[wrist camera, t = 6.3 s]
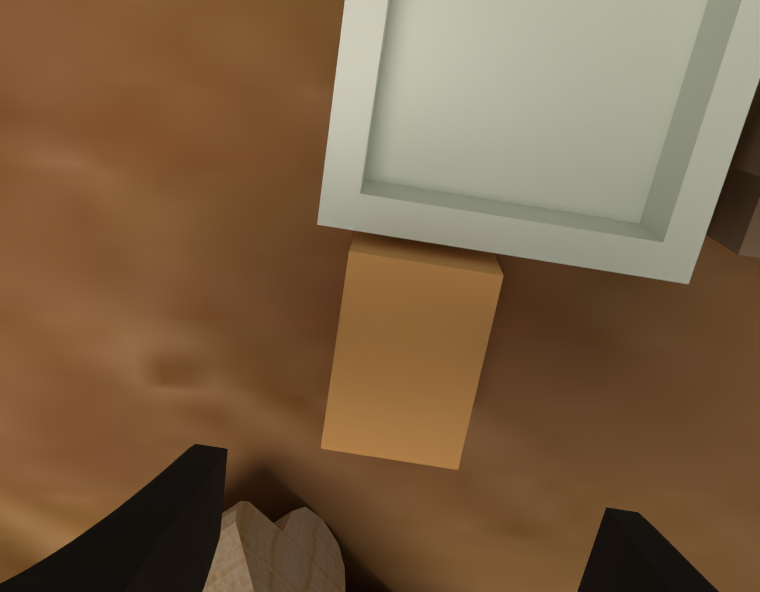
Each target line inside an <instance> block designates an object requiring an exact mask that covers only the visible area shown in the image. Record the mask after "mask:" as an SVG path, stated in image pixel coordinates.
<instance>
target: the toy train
mask: <svg viewBox="0 0 760 592" xmlns="http://www.w3.org/2000/svg"><path fill="white" fill-rule="evenodd" d="M202 592H345V568H344V564H343V560H342V556H341V552H340V548H339V544H338V543H337V541H336V540H335V538H334V536H333V535H332V533H331V532H330V530H329V529H328V527H327V525H326V524H325V522H324V521H323V519H322V518H321V517H319V516H318V515H317V514H315V513H314V512H312V511H311V510H309V509H308V508H307V507H303V508H299V509H296V510H293V511H291V512H290V513H288V514H287V515H285V516H284V517H282V518H280V519H279V520H277V521H276V522H274V523H273V522H272V521H270V520H269V519H268V518H267V517H266V516H265V515H264V514H262V513H261V512H260V511H259V510H258V509H257V508H256V507H255V506H253V505H252V504H251V503H250V502H249V501H240V502H238V503H237V504H235V505H234V506H233V507H231V508H230V509H228V510H227V511H225V512H224V513H222V521H221V533H220V539H219V542H218V545H217V548H216V552H215V555H214V558H213V562H212V565H211V568H210V571H209V574H208V577H207V580H206V583H205V587H204V589H203V591H202Z"/></svg>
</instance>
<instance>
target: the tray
mask: <svg viewBox="0 0 760 592" xmlns="http://www.w3.org/2000/svg"><path fill="white" fill-rule="evenodd" d="M759 79H760V0H345V4H344V12H343V20H342V28H341V36H340V44H339V52H338V61H337V69H336V77H335V85H334V93H333V101H332V109H331V117H330V125H329V133H328V141H327V149H326V157H325V165H324V173H323V181H322V189H321V197H320V206H319V214H318V222H317V225H323V226H329V227H335V228H342V229H348V230H354V231H360V232H366V233H373V234H379V235H385V236H391V237H398V238H404V239H410V240H416V241H422V242H429V243H435V244H441V245H447V246H454V247H460V248H466V249H472V250H479V251H485V252H491V253H497V254H503V255H510V256H516V257H522V258H528V259H535V260H541V261H547V262H553V263H560V264H566V265H572V266H578V267H584V268H591V269H597V270H603V271H609V272H616V273H622V274H628V275H634V276H641V277H647V278H653V279H659V280H665V281H672V282H678V283H684V284H689V282H690V279H691V276H692V273H693V270H694V267H695V264H696V261H697V258H698V256H699V253H700V250H701V247H702V244H703V241H704V238H705V235H706V232H707V230H708V227H709V224H710V221H711V218H712V215H713V212H714V209H715V206H716V204H717V201H718V198H719V195H720V192H721V189H722V186H723V183H724V180H725V178H726V175H727V172H728V169H729V166H730V163H731V160H732V157H733V154H734V152H735V149H736V146H737V143H738V140H739V137H740V134H741V131H742V128H743V126H744V123H745V120H746V117H747V114H748V111H749V108H750V105H751V102H752V100H753V97H754V94H755V91H756V88H757V85H758V82H759Z"/></svg>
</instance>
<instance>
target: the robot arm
mask: <svg viewBox="0 0 760 592" xmlns="http://www.w3.org/2000/svg"><path fill="white" fill-rule="evenodd" d="M227 450H228V449H225V448H218V447H212V446H205V445H199V444H195V445H193V446H192V447H190V448H189V449H188V450H186V451H185V452H184V453H183V454H182V455H181V456H180V457H179V458H177V459H176V460H175V461H174V462H173V463H172V464H171V465H169V466H168V467H167V468H166V469H165V470H164V471H163V472H161V473H160V474H159V475H158V476H157V477H156V478H154V479H153V480H152V481H151V482H150V483H149V484H147V485H146V486H145V487H144V488H142V489H141V490H140V491H139V492H137V493H136V494H135V495H134V496H132V497H131V498H130V499H129V500H127V501H126V502H125V503H124V504H122V505H121V506H120V507H119V508H117V509H116V510H115V511H113V512H112V513H111V514H109V515H108V516H107V517H105V518H104V519H102V520H101V521H100V522H98V523H97V524H95V525H94V526H93V527H91V528H90V529H89V530H87V531H86V532H84V533H83V534H82V535H80V536H79V537H77V538H76V539H74V540H73V541H71V542H70V543H68V544H67V545H65V546H64V547H62V548H61V549H59V550H58V551H56V552H55V553H53V554H52V555H50V556H48V557H47V558H45V559H43V560H42V561H40V562H38V563H37V564H35V565H33V566H32V567H30V568H29V569H27V570H25V571H23V572H22V573H20V574H18V575H16V576H14V577H12V578H10V579H8V580H6V581H5V582H3V583H1V584H0V592H202V591H203V589H204V587H205V583H206V580H207V577H208V574H209V571H210V568H211V565H212V562H213V558H214V555H215V552H216V548H217V545H218V542H219V539H220V533H221V521H222V509H223V497H224V486H225V474H226V462H227ZM578 592H719V591H718V590H717V589H715V588H714V587H713V586H712V585H711V584H710V583H709V582H708V581H707V580H706V579H705V578H704V577H703V576H702V575H701V574H700V573H699V572H698V571H697V570H696V569H695V568H694V567H693V566H692V565H691V564H690V563H689V562H688V561H687V560H686V559H685V558H684V557H683V556H682V555H681V554H680V553H679V552H678V551H677V550H676V549H675V548H674V547H673V546H672V545H671V544H670V542H669V541H668V540H667V539H666V538H664V537H663V536H662V535H661V534H660V533H659V532H658V531H657V530H656V529H655V528H654V527H653V526H652V525H651V524H650V523H649V522H648V521H647V520H646V519H645V518H644V517H643V516H642V515H640V514H639V513H638V512H632V511H625V510H619V509H612V508H606V510H605V513H604V516H603V519H602V522H601V525H600V527H599V530H598V533H597V536H596V539H595V542H594V545H593V548H592V551H591V554H590V557H589V560H588V563H587V566H586V568H585V571H584V574H583V577H582V580H581V583H580V586H579V589H578Z"/></svg>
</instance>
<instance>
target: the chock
mask: <svg viewBox="0 0 760 592" xmlns="http://www.w3.org/2000/svg"><path fill="white" fill-rule="evenodd" d="M503 277H504V276H503V273H502V271H501V268H500V266H499V263H498V261H497V258H496V256H495V253H491V252H485V251H479V250H472V249H466V248H460V247H454V246H447V245H441V244H435V243H429V242H422V241H416V240H410V239H404V238H398V237H391V236H385V235H379V234H373V233H366V232H360V231H355V232H354V236H353V239H352V242H351V246H350V249H349V254H348V261H347V268H346V275H345V282H344V289H343V296H342V303H341V310H340V317H339V324H338V331H337V338H336V345H335V352H334V359H333V366H332V373H331V380H330V387H329V394H328V401H327V408H326V415H325V422H324V429H323V436H322V443H321V449H326V450H333V451H339V452H346V453H352V454H359V455H365V456H372V457H378V458H384V459H391V460H397V461H404V462H410V463H417V464H423V465H430V466H436V467H442V468H449V469H455V470H458V467H459V463H460V459H461V454H462V450H463V446H464V442H465V437H466V433H467V429H468V425H469V421H470V416H471V412H472V408H473V404H474V399H475V395H476V391H477V387H478V382H479V378H480V374H481V370H482V365H483V361H484V357H485V353H486V349H487V344H488V340H489V336H490V332H491V327H492V323H493V319H494V315H495V310H496V306H497V302H498V298H499V293H500V289H501V285H502V281H503Z"/></svg>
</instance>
